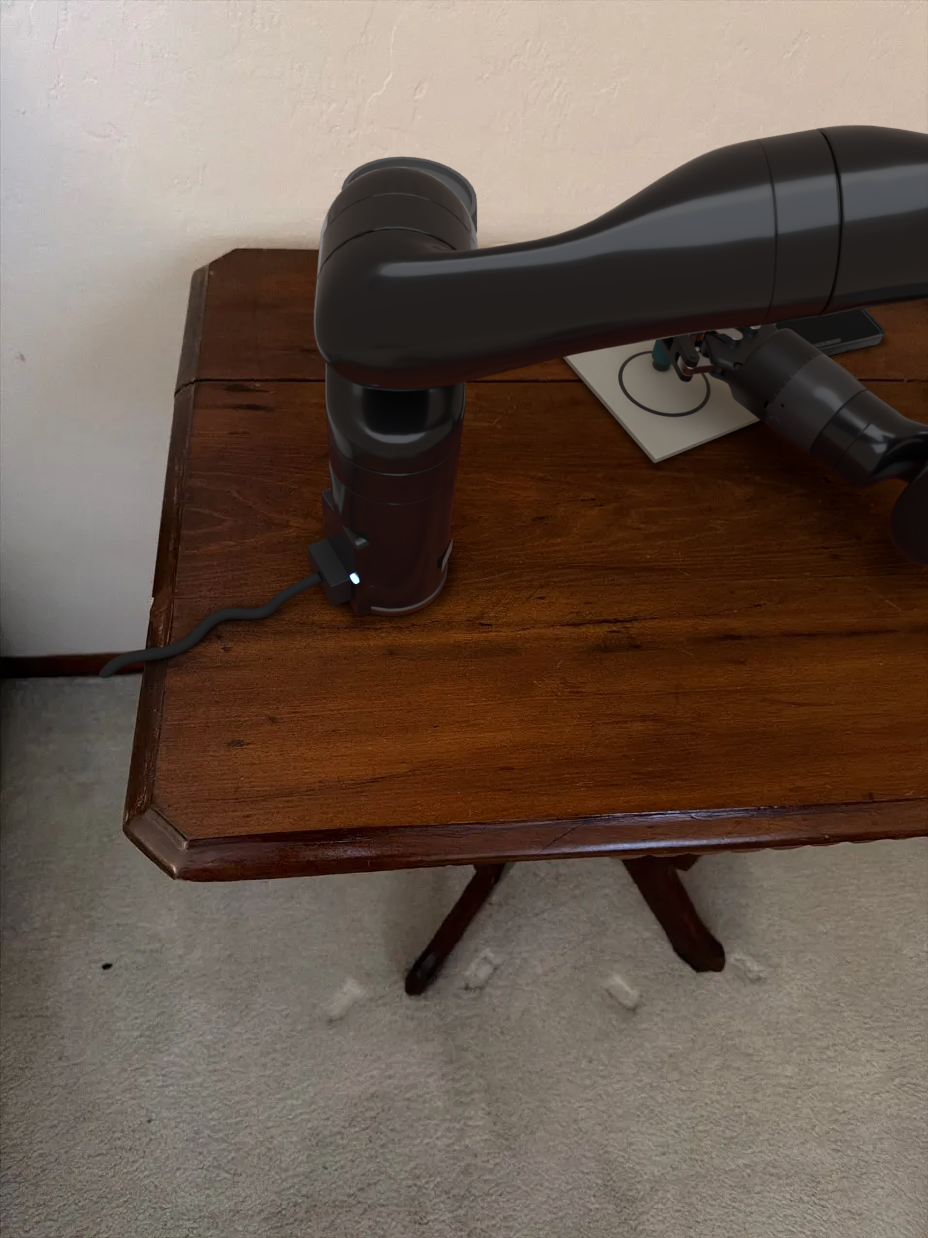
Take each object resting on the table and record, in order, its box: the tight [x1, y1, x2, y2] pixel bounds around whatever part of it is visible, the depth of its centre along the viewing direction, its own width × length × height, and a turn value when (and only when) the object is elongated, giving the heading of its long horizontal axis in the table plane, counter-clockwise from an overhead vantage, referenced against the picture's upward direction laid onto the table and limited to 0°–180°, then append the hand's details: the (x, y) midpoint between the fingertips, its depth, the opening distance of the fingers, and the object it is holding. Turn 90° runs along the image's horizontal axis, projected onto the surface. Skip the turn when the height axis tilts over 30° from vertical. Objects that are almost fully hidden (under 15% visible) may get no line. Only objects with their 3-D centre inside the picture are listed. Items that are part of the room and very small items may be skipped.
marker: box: [652, 339, 672, 372], centre depth 84 cm, size 3×3×13 cm
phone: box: [775, 308, 886, 357], centre depth 95 cm, size 8×1×15 cm
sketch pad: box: [562, 340, 761, 464], centre depth 89 cm, size 14×16×1 cm
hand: (659, 287), depth 85 cm, fingers closed on marker, 2 cm apart
